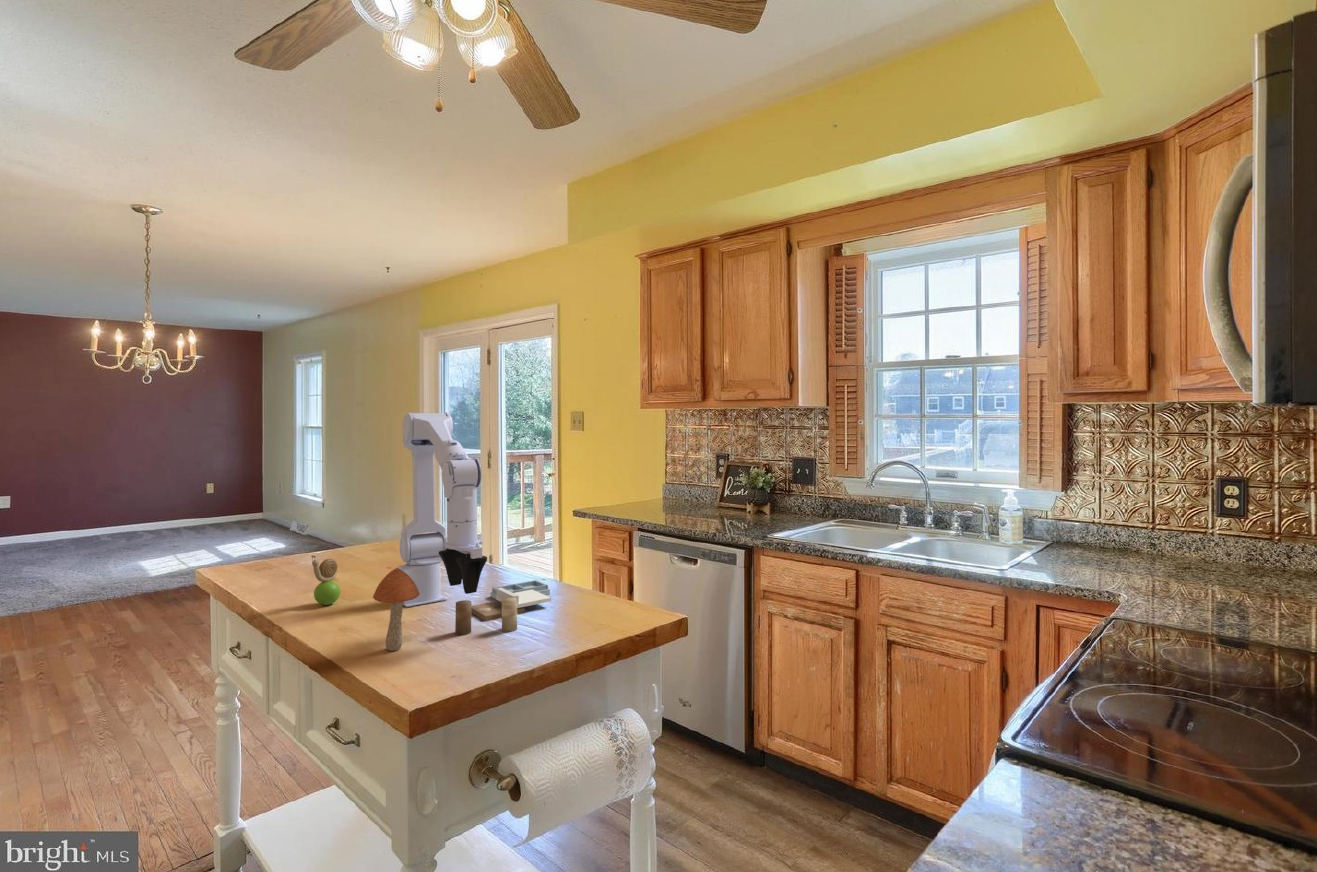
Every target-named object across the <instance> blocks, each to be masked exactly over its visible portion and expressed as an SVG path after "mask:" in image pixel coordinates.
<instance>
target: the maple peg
mask: <svg viewBox="0 0 1317 872" xmlns="http://www.w3.org/2000/svg"><path fill="white" fill-rule="evenodd" d="M517 630H518V614H517V599H516V598H505V599H502V618H501V631H502V632H505V633H511V632H515V631H517Z"/></svg>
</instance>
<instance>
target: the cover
mask: <svg viewBox="0 0 1317 872" xmlns="http://www.w3.org/2000/svg"><path fill="white" fill-rule="evenodd" d="M505 598H516V599H517V608H521V607H523V608H526V607H530V606H534V605H539V604H540V605H541V604H544V603H549V602H552V598H551V597H550V596H548V595H544V594H541V593H539V592H537V591H534V590H526V591H521V592H516V593H512V592H510V591H508V590H506V589H503V588H497V596H496V599H495V601H500V602H502V599H505Z"/></svg>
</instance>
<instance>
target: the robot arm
mask: <svg viewBox="0 0 1317 872" xmlns="http://www.w3.org/2000/svg"><path fill="white" fill-rule="evenodd" d="M453 430H454V423H453V418H452V416H451V414H450V413H449V412H442V413H441V412H439V413H438V412H434V413H433V412H432V413H431V412H430V413H429V412H427V413H426V412H423V413H422V412H406V414H405V415H404V416H403V420H402V444H403V448H405V449H407V450H410V453H411V459H412V460H411V461H412V506H413V508H412V511H413V514H412V515H413V519H412V520H411V521H410V522H409V523H407V525H405V526H404V527H403V528H402V529H401V532H400V541H399V554H400V558H401V561H403V562H404V563H405V564H402V565H401V564H400V565H399V566H398V567H397V568H398V569H400V570H402V571H404V572H405V573H406V574H408V575H409V576H410V577H411V579H412V580H413V581H414V583H415V584H416V586H417V589H418V591H419V596H418V597H417V598H415V599H413V600H409V601H404V602H403V607H405V608H409V607H414V606H420V605H425V604H432V603H435V602H442V601H446V600H448V597H447V596H445V595H443V594H442V587H441V586H442V582H441V581H442V580H441V579H442V577H441V571H442V570H441V568H442V567H441V566H442V565H441V564H442V563H441V562H443V565H444V568H445V571H446V575H447V576H446V577H447V580H448V582H449V586H450V587H453V586H459V585H462V589H463V591H464V594H466V595H467V594H474V593H477V591H478V586H479V583H480V578H481V574H482V572H483V568H484V567H485V565H486V563H487V562H488V556H486V555H483V547H482V546H481V545H483V544H484V540H482V539H478V495H477V494H478V493H477V492H478V490H477V489H478V488H479V487H480V485H481V482H482V467H481V464H480V461H479V459H478V458H476V457H474V458H473V457H469V455H468V453H467V452H466V450H465V449H464V447H463V446H462V444H461V443H460V442H459V441H458V440H456V439H453V438H452V437H453V436H452V435H453V432H454V431H453ZM434 458H435V459H434ZM435 460H436V461H437V464H438V465H439V468H440V469H441V480H442V486H443V495H444V498H446V527H445V525H444V524H442V523H441V522H440V521H438V520H436V511H435V510H436V508H435V507H436V506H435V502H436V501H435Z"/></svg>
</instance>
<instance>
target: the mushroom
mask: <svg viewBox="0 0 1317 872" xmlns="http://www.w3.org/2000/svg"><path fill="white" fill-rule="evenodd" d="M418 596H419V591H418V589H417V586H416V584H415V583H414V581H413V580H412V579H411V577H410V576H409V575H408V574H406V573H405V572H404V571H402V570H400V569H398V567H395V568H394V569H393V570H390V572H388V573H387V574H386V575H385V576H384V577H383V579H382V580H381V581H380V582H379V583H378V586H377V587H376V589H375V591H374V594H373V595H372V598H373V600H374V601H376V602H380V603H385V604H386V603H388V604H389V603H390V612H389V613H390V614H389V624H388V628H387V632H386V637H385V648H386V650H387V651H390V652H391V651H392V652H394V651H395V652H396V651H399V650H401V648H402V645H403V626H402V618H403V611H404V610H403V608H404V605H403V602H404V601H409V600H413V599H415V598H417V597H418Z"/></svg>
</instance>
